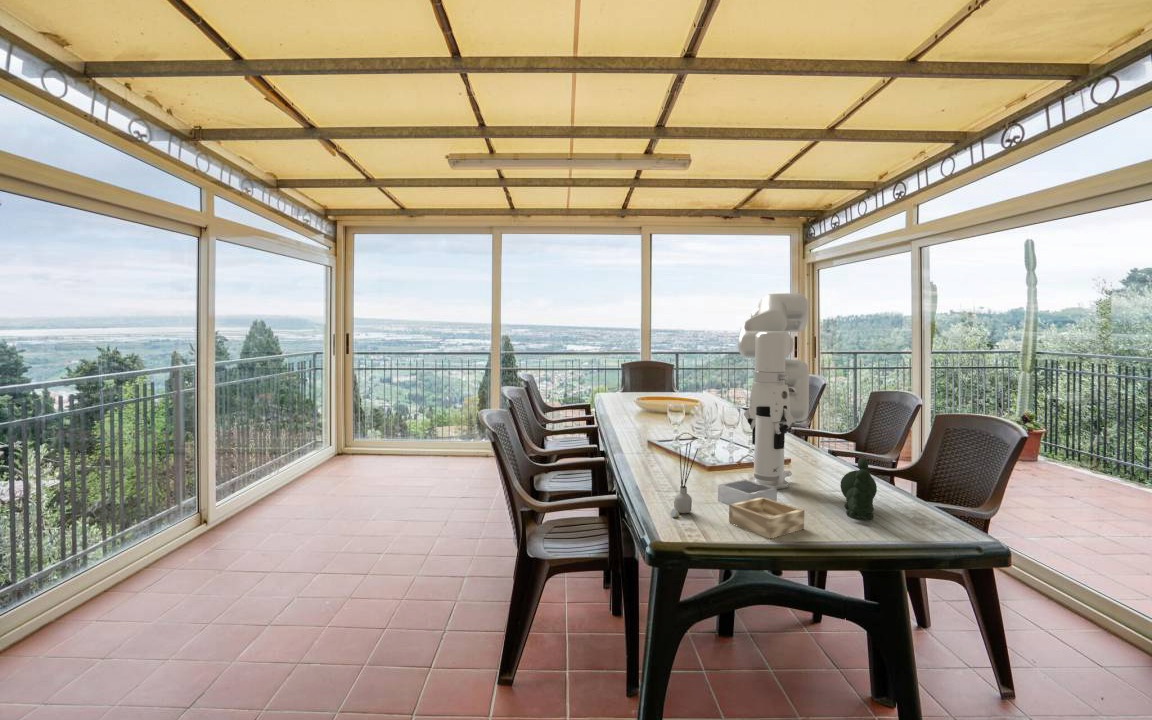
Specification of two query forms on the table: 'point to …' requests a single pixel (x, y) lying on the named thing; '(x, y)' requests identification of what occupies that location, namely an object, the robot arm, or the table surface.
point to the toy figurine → (859, 491)
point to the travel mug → (765, 447)
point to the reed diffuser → (683, 492)
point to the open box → (744, 491)
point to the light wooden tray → (766, 517)
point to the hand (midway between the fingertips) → (767, 445)
